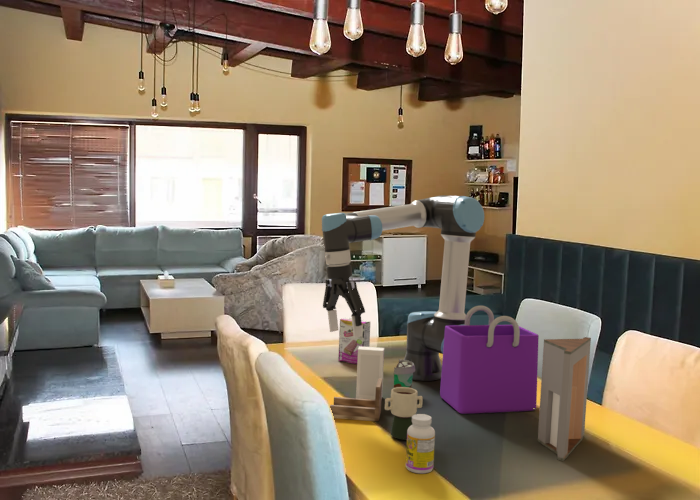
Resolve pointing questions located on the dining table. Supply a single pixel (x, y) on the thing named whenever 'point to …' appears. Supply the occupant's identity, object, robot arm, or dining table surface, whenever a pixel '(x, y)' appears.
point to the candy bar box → (352, 340)
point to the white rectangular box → (369, 371)
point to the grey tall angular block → (563, 394)
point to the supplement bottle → (420, 444)
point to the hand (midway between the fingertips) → (345, 333)
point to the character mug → (402, 409)
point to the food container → (403, 373)
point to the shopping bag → (489, 366)
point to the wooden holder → (358, 407)
